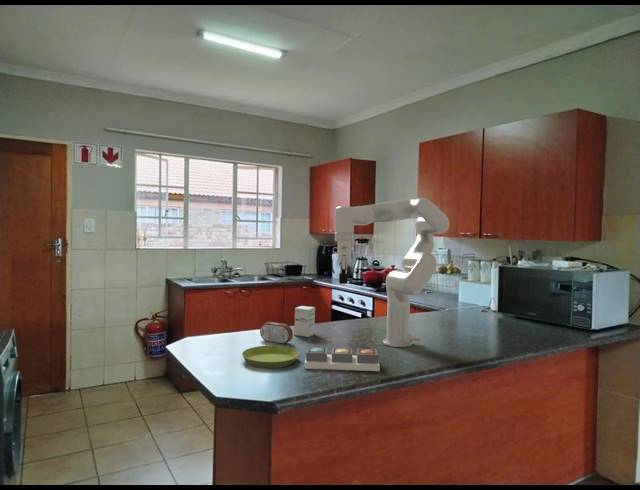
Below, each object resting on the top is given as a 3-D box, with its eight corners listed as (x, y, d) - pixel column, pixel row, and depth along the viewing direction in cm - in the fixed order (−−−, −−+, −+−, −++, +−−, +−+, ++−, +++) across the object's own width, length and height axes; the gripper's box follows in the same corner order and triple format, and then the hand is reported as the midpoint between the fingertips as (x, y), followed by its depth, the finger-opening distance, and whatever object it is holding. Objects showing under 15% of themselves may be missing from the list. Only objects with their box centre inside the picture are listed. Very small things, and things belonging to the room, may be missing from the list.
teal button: (324, 356, 159) (324, 348, 159) (323, 360, 154) (323, 352, 154) (310, 355, 159) (310, 347, 159) (309, 359, 154) (309, 351, 154)
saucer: (249, 373, 146) (250, 364, 146) (236, 356, 165) (236, 348, 165) (307, 367, 154) (307, 358, 154) (288, 351, 173) (288, 343, 173)
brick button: (373, 358, 158) (373, 349, 158) (374, 362, 153) (374, 353, 153) (359, 357, 159) (360, 349, 158) (360, 361, 154) (360, 353, 154)
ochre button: (348, 357, 159) (348, 349, 159) (349, 361, 154) (349, 352, 154) (335, 356, 159) (335, 348, 159) (334, 360, 154) (335, 352, 154)
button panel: (376, 361, 161) (377, 348, 161) (379, 371, 150) (379, 356, 150) (306, 359, 163) (307, 345, 162) (304, 368, 152) (304, 354, 151)
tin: (293, 343, 184) (293, 324, 184) (289, 345, 181) (289, 325, 181) (262, 339, 190) (262, 320, 190) (258, 341, 187) (259, 321, 187)
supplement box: (293, 335, 198) (294, 307, 198) (300, 332, 205) (300, 305, 205) (308, 337, 195) (309, 309, 195) (314, 333, 202) (315, 306, 202)
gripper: (354, 238, 165) (353, 286, 166) (353, 237, 180) (352, 281, 181) (334, 237, 166) (333, 285, 166) (334, 236, 180) (333, 281, 181)
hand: (343, 283), depth 173 cm, fingers closed
